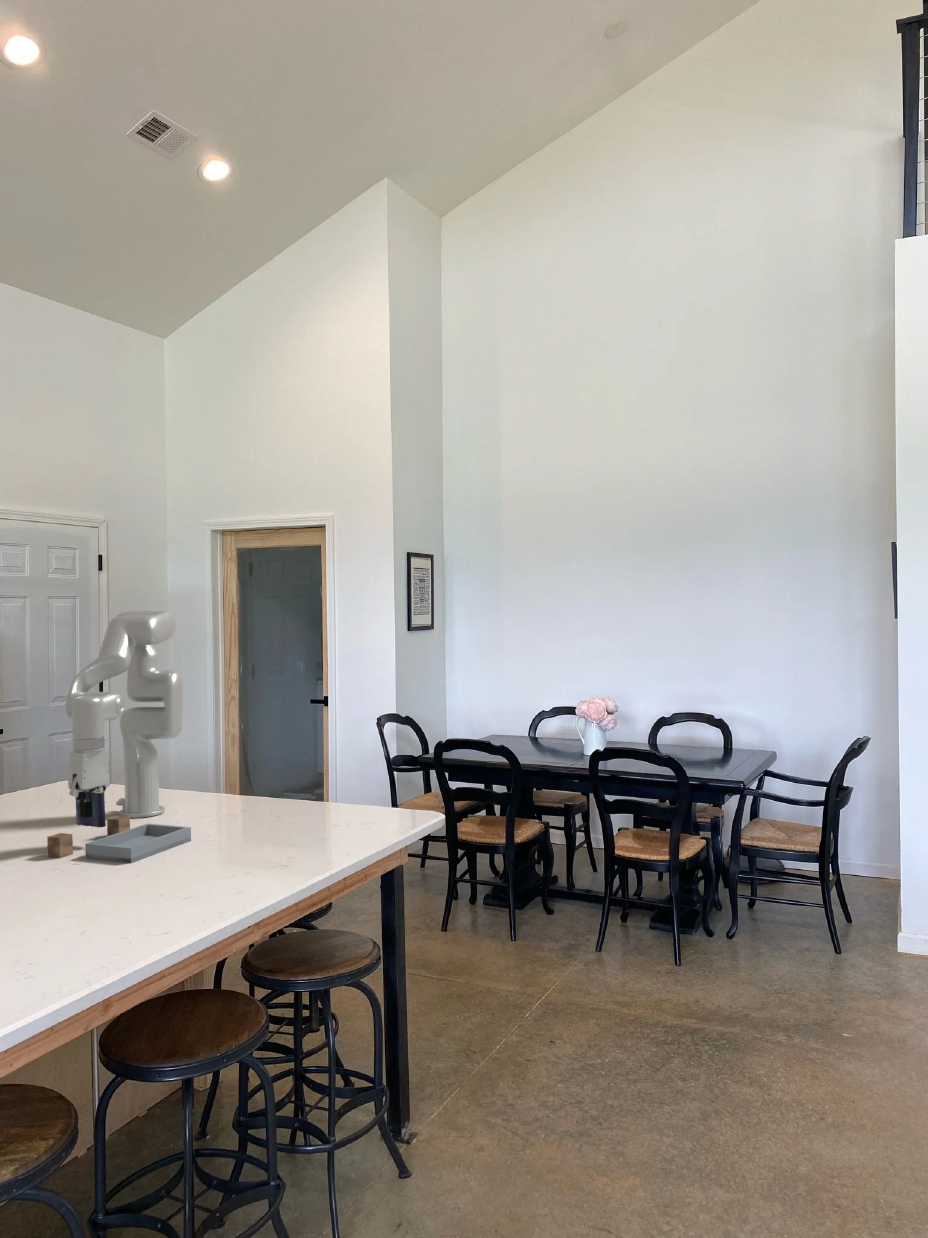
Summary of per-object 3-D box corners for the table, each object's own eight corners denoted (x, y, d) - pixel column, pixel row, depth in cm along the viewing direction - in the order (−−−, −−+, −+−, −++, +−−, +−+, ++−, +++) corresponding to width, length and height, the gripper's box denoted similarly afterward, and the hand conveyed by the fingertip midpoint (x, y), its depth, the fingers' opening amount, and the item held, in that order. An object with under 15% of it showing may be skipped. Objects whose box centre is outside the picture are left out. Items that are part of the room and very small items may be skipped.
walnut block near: (47, 857, 224) (47, 836, 224) (60, 852, 228) (60, 833, 228) (60, 858, 223) (59, 838, 223) (72, 854, 226) (72, 834, 226)
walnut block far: (107, 837, 243) (107, 818, 243) (118, 834, 246) (117, 815, 246) (119, 838, 241) (118, 820, 241) (130, 835, 245) (129, 816, 245)
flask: (73, 824, 236) (72, 783, 236) (82, 822, 239) (81, 781, 238) (100, 828, 232) (99, 786, 232) (109, 825, 235) (108, 784, 234)
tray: (85, 858, 222) (85, 843, 222) (147, 836, 243) (147, 823, 243) (131, 863, 217) (130, 848, 217) (191, 840, 238) (190, 827, 238)
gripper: (100, 738, 243) (103, 806, 244) (52, 749, 228) (55, 821, 229) (123, 739, 241) (125, 808, 241) (76, 750, 226) (78, 824, 226)
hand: (91, 814), depth 235 cm, fingers closed on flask, 2 cm apart
